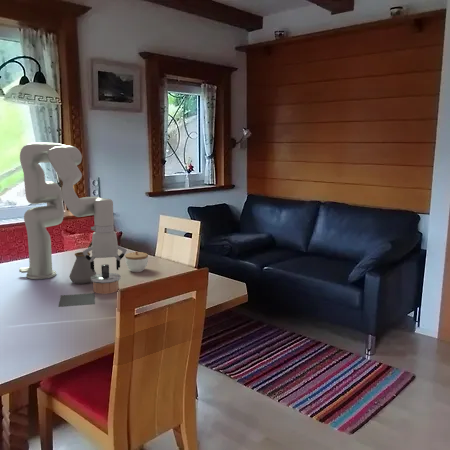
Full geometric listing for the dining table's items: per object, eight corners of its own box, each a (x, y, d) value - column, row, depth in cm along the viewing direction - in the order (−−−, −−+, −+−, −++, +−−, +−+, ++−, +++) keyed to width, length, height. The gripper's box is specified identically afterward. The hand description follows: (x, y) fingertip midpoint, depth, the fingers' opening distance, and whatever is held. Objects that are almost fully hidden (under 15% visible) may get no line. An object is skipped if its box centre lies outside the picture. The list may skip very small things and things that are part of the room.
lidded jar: (150, 267, 223) (150, 249, 222) (144, 273, 213) (144, 254, 211) (129, 266, 224) (129, 248, 223) (122, 272, 214) (122, 253, 212)
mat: (58, 307, 168) (58, 306, 168) (60, 296, 180) (60, 295, 180) (94, 304, 171) (94, 303, 171) (94, 293, 183) (94, 293, 183)
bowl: (93, 295, 182) (93, 283, 181) (93, 287, 191) (93, 276, 190) (119, 293, 185) (118, 281, 184) (117, 286, 194) (117, 274, 193)
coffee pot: (92, 286, 193) (91, 252, 191) (65, 285, 193) (64, 251, 191) (105, 272, 214) (104, 241, 212) (81, 271, 214) (80, 240, 212)
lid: (90, 284, 180) (89, 270, 179) (90, 275, 191) (90, 262, 190) (121, 282, 183) (120, 268, 182) (119, 274, 194) (119, 260, 193)
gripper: (81, 231, 177) (83, 273, 180) (126, 230, 182) (127, 271, 185) (82, 228, 185) (83, 268, 188) (125, 226, 189) (126, 266, 192)
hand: (105, 270), depth 186 cm, fingers open, 9 cm apart
